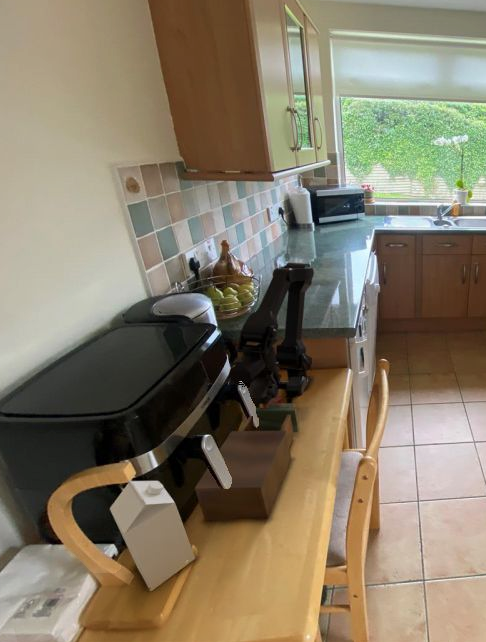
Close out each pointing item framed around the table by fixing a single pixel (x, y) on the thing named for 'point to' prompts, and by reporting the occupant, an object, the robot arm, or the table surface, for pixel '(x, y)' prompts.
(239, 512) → the brown wooden block
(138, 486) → the milk carton
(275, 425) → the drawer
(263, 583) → the table surface
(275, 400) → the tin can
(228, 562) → the table surface
